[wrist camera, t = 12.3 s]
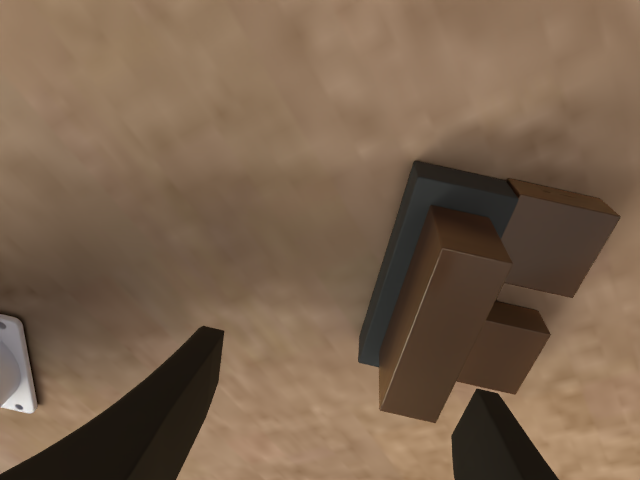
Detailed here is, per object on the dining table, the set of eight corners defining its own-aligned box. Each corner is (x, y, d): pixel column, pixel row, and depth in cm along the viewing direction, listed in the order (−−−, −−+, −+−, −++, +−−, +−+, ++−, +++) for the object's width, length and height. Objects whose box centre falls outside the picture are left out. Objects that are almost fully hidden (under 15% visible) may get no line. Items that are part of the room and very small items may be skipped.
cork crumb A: (432, 352, 23) (436, 377, 22) (458, 292, 21) (465, 315, 20) (506, 368, 23) (515, 395, 22) (538, 310, 21) (551, 334, 20)
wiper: (359, 336, 23) (354, 422, 19) (414, 159, 19) (427, 214, 14) (432, 352, 23) (446, 443, 19) (506, 180, 19) (552, 242, 14)
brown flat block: (473, 256, 20) (481, 278, 19) (507, 177, 18) (519, 194, 17) (557, 275, 20) (572, 298, 19) (600, 198, 18) (621, 216, 17)
